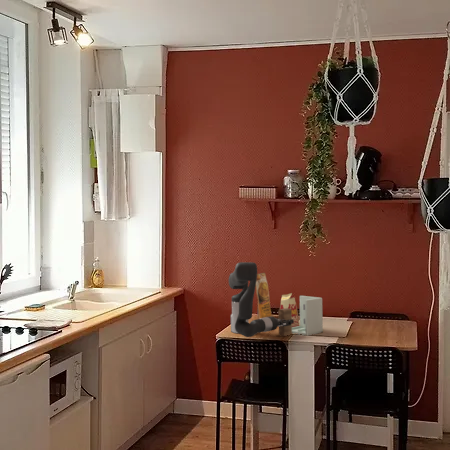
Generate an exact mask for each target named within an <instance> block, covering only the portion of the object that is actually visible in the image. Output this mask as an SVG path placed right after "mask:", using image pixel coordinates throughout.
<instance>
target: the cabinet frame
mask: <svg viewBox="0 0 450 450" xmlns="http://www.w3.org/2000/svg"><path fill="white" fill-rule="evenodd" d="M299 324H300V326H297V327H292V334H294V333H298V334H297V335H300V334H302V335H301V336H306V335H307V336H306V337H308V336H312V334H313V335H317V334H320V333H321V332H322V333H323V332H324V330H323V329H324V328H323V326H324V325H323V298H322V297H319V296H318V297H317V296H308V295H307V296H306V295H299Z"/></svg>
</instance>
